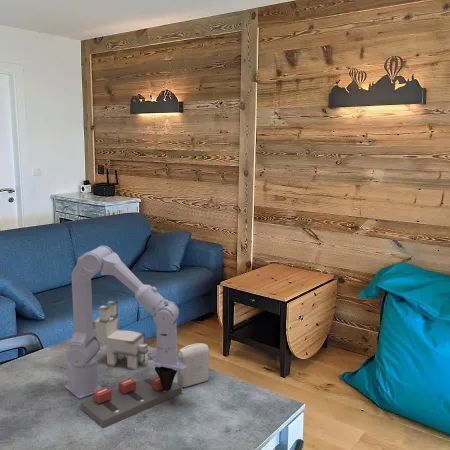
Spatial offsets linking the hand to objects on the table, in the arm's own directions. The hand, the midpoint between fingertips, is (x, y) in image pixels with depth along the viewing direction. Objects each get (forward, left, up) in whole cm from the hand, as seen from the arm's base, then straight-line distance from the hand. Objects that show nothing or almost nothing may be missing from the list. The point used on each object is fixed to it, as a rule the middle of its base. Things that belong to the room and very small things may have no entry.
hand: (167, 389), depth 140 cm
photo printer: (-3, +12, -3) cm, 13 cm away
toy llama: (-29, +3, -3) cm, 29 cm away
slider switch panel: (-6, -8, -3) cm, 10 cm away
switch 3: (-4, 0, -1) cm, 4 cm away
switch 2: (-9, -8, -1) cm, 12 cm away
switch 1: (-9, -16, -1) cm, 18 cm away
